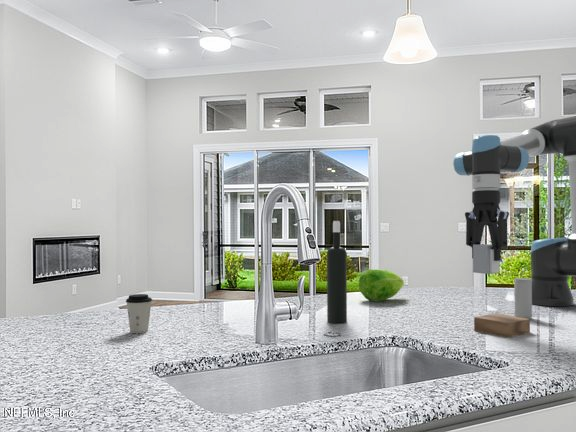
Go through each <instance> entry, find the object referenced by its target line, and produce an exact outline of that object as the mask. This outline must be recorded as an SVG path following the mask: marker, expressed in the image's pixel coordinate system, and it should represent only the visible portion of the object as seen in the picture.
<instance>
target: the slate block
mask: <svg viewBox="0 0 576 432" xmlns="http://www.w3.org/2000/svg"><path fill="white" fill-rule="evenodd" d="M491 248H492V244H482V243H481V244H476V245H473V258H472V273H476V274H484V275H491V274H492V275H493V274H496V273H490V249H491Z"/></svg>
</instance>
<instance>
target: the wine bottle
mask: <svg viewBox="0 0 576 432" xmlns="http://www.w3.org/2000/svg"><path fill="white" fill-rule="evenodd" d="M332 235H333V236H332V237H333V242H332V243H333V244H332V245H333V246H332V247H329V248H328V249H327V252H326V286H327V287H326V295H327V296H326V310H327V311H326V312H327V313H326V318H327V319H326V320H327V321H326V322H327V323H330V324H335V325H340V324H346V323H347V322H348V315H347V314H348V313H347V312H348V309H347V308H348V302H347V301H348V300H347V299H348V296H347V294H348V291H347V289H348V285H347V282H348V281H347V275H348V274H347V267H348V266H347V250H346V249H345V248H344V247H341V222H340V220H333V222H332Z"/></svg>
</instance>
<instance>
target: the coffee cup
mask: <svg viewBox="0 0 576 432" xmlns="http://www.w3.org/2000/svg"><path fill="white" fill-rule="evenodd" d="M152 301H153V299H152V297H150V296H149V294H145V293H142V294H141V293H140V294H139V293H137V294H130V295H128V298H126V300H125V302H126V308H127V316H128V317H127V318H128V326H129V331H130V332H131V333H130V332H129V333H130V334H132V333H136V334H135V335H139V334H138V333H142V334H147V333H148V331H149V326H150V325H149V323H150V316H151V308H152ZM146 332H147V333H146Z"/></svg>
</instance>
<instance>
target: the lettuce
mask: <svg viewBox="0 0 576 432" xmlns="http://www.w3.org/2000/svg"><path fill="white" fill-rule="evenodd" d="M404 286H405V282H404V279H403V278H401V276H399V275H398V274H396V273H395V272H393V271H391V270H387V269H371V268H369V269H366V270H364V271H363V272H362V273H361V275H360V277H359V279H358V288H359V289H358V290H359V291H360V293H361V294H362V296H363V297H364V298H365V299H366V300H368V301H371V302H376V303H379V302H383V301H385V300H387V299H388V300H389V299H391V298H393V297H394V296H396V295H397V294H398V292H400V290H402V288H403V287H404Z"/></svg>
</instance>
